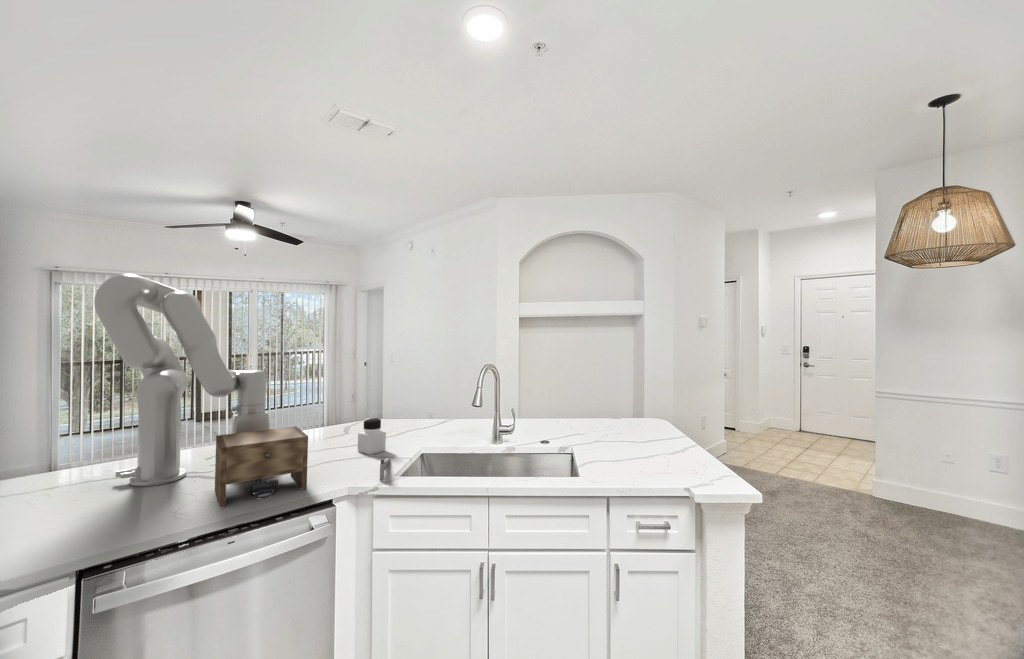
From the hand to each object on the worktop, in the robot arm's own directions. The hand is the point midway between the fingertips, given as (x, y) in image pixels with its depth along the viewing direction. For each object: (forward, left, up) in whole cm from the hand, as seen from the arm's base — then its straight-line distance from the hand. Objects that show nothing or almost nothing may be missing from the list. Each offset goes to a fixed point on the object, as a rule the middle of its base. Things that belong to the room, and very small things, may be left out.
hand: (250, 466), depth 131 cm
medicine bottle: (+38, -3, -1) cm, 38 cm away
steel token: (0, -26, -1) cm, 26 cm away
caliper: (+34, -25, -1) cm, 42 cm away
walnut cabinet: (0, -21, -1) cm, 21 cm away
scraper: (0, -10, -1) cm, 10 cm away
